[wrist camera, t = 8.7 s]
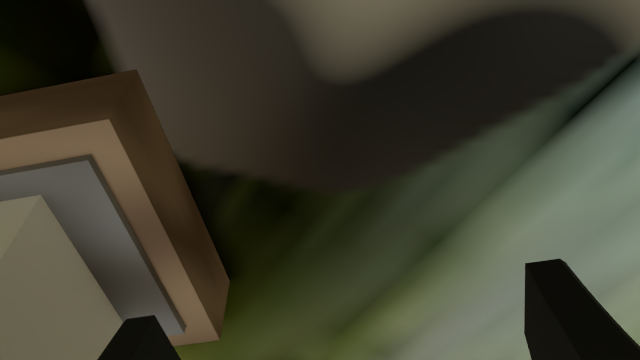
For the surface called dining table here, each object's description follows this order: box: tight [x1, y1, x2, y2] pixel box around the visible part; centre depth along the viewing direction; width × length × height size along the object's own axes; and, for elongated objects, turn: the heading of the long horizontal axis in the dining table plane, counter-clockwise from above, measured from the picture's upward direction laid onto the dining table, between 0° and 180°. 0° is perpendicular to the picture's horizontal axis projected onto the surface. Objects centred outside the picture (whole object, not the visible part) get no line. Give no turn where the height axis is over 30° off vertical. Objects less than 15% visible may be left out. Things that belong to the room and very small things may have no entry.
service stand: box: [0, 70, 230, 346], centre depth 21 cm, size 10×10×3 cm
